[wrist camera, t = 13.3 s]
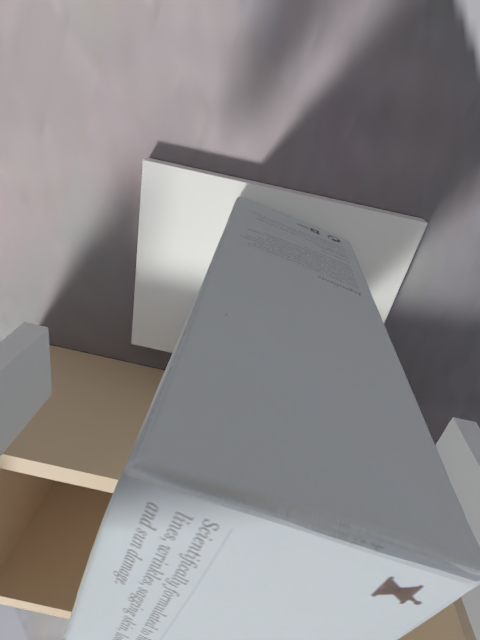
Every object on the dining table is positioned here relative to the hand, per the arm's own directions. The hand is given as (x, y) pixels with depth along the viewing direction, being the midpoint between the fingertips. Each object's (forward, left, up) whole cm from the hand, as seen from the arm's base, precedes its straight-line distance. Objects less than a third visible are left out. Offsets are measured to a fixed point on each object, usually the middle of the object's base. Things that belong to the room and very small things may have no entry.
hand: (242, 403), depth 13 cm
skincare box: (0, 0, -8) cm, 9 cm away
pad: (0, 0, -9) cm, 9 cm away
